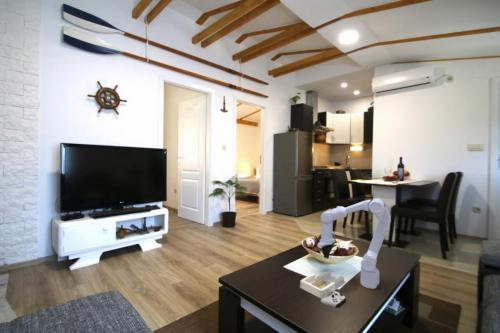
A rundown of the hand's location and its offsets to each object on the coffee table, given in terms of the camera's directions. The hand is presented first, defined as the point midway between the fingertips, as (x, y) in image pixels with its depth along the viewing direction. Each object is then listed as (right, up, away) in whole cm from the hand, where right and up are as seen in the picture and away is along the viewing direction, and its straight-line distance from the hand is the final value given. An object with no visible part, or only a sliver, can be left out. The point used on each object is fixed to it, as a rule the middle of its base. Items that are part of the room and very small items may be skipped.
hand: (326, 257), depth 126 cm
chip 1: (-10, -9, -16) cm, 21 cm away
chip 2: (-7, -9, -14) cm, 18 cm away
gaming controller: (-5, -11, -25) cm, 27 cm away
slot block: (-1, -10, -8) cm, 13 cm away
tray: (-10, -10, -16) cm, 21 cm away
